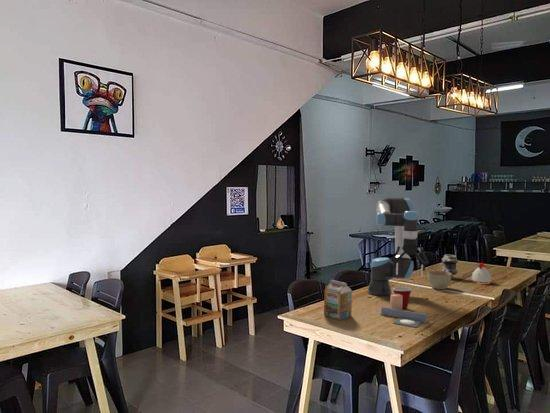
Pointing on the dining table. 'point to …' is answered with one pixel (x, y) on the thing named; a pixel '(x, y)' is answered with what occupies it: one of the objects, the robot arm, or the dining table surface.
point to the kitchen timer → (481, 275)
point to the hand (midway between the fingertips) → (409, 275)
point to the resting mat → (407, 322)
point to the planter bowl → (439, 279)
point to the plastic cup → (405, 293)
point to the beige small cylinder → (396, 301)
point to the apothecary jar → (449, 264)
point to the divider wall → (404, 314)
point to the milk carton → (337, 300)
